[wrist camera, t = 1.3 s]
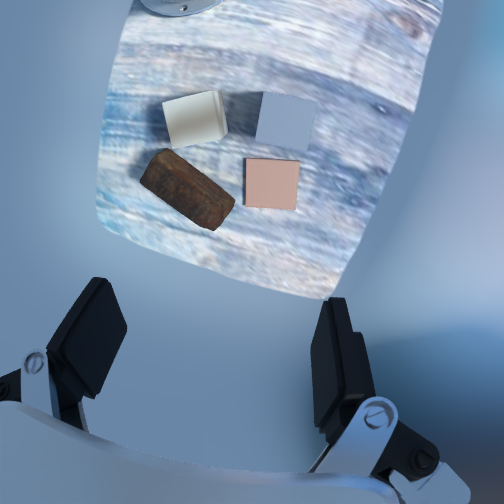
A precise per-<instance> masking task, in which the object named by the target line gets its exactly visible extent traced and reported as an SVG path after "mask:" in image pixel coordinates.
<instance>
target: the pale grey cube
mask: <svg viewBox="0 0 504 504" xmlns="http://www.w3.org/2000/svg"><path fill="white" fill-rule="evenodd" d="M162 105H163V109H164V114H165V118H166V123H167V127H168V132H169V136H170V141H171V145H172V149H176V148H180V147H185V146H190V145H195V144H200V143H205V142H211V141H216V140H221V139H222V138H223V137H224V136H225V135H226V134H227V133H228V126H227V121H226V115H225V110H224V104H223V99H222V94H221V91H207V92H203V93H198V94H194V95H190V96H186V97H182V98H178V99H174V100H170V101H167V102H163V103H162Z"/></svg>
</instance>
